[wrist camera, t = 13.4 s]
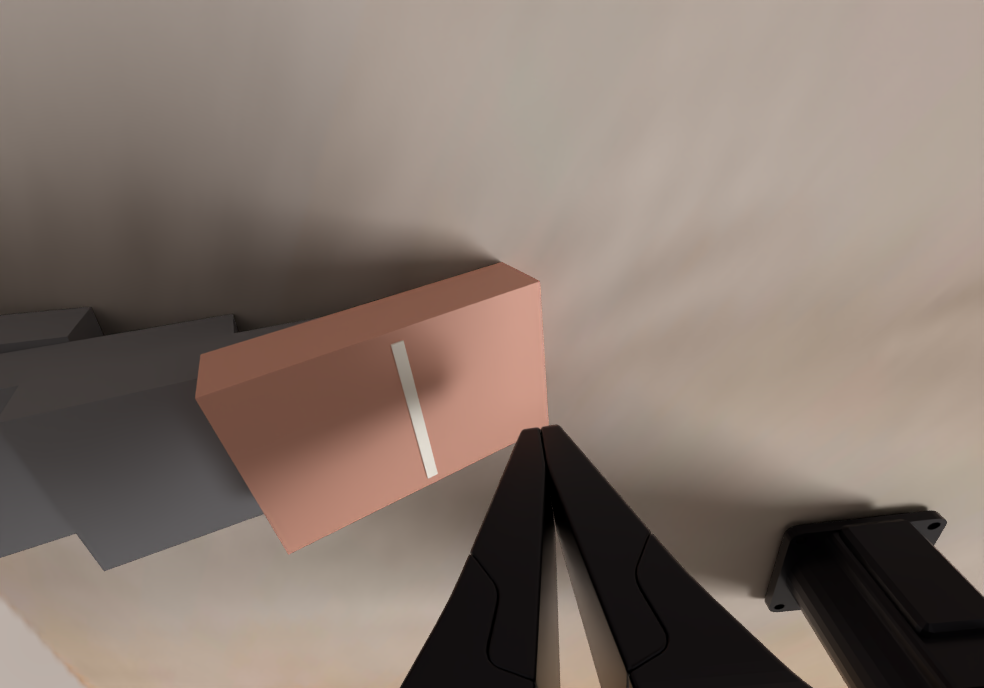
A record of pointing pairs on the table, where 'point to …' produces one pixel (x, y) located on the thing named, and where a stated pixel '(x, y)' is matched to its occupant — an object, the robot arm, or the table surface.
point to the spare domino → (378, 398)
